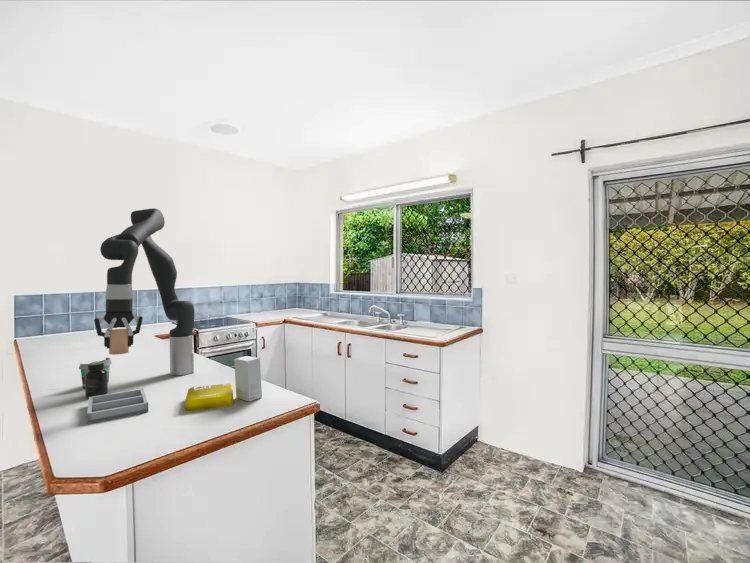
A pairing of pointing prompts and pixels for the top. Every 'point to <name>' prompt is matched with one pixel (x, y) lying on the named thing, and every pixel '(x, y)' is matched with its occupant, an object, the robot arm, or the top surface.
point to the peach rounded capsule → (118, 341)
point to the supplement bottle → (96, 380)
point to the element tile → (209, 397)
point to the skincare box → (248, 378)
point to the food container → (85, 369)
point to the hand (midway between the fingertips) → (118, 347)
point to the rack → (116, 405)
